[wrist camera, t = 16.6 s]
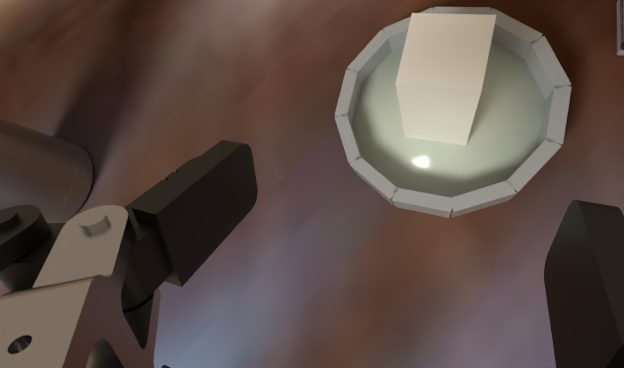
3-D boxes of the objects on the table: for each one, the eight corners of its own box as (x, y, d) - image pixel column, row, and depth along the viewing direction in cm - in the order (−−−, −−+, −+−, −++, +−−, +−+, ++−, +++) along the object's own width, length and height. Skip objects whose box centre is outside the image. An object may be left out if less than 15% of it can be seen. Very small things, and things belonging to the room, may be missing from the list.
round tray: (327, 192, 31) (316, 185, 28) (368, 27, 34) (362, 5, 31) (536, 235, 26) (549, 231, 23) (568, 34, 28) (583, 8, 25)
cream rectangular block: (405, 136, 29) (395, 83, 21) (417, 84, 30) (411, 13, 22) (466, 145, 28) (481, 91, 19) (477, 90, 28) (496, 14, 20)
